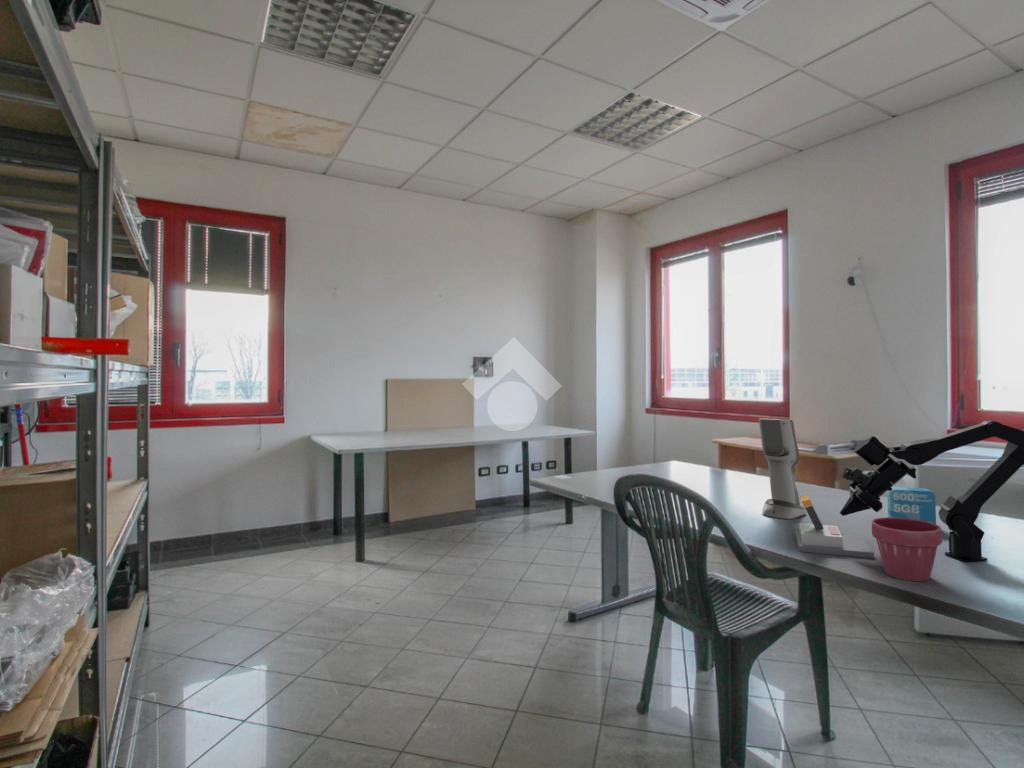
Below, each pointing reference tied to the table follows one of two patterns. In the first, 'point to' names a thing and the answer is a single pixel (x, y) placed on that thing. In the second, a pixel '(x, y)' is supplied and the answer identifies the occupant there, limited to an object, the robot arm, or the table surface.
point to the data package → (912, 504)
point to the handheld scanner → (781, 468)
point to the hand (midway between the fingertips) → (841, 514)
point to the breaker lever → (811, 512)
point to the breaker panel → (847, 549)
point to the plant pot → (907, 546)
